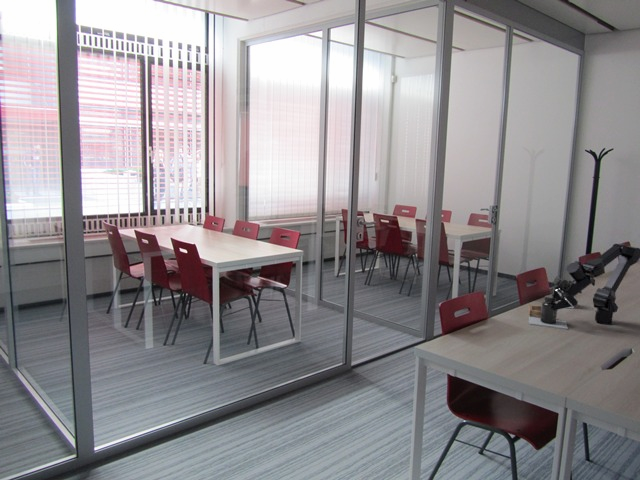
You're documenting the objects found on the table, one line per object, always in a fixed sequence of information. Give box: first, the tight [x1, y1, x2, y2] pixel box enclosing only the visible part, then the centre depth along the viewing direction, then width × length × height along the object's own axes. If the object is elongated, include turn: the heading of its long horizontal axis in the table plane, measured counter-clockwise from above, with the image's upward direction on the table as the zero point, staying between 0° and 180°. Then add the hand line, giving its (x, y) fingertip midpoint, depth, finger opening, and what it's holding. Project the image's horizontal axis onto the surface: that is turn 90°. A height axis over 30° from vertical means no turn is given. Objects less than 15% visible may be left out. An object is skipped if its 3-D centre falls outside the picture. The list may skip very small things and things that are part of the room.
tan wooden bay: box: [528, 304, 542, 318], centre depth 248 cm, size 10×11×3 cm
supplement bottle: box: [540, 295, 558, 324], centre depth 235 cm, size 7×7×12 cm
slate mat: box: [528, 316, 569, 330], centre depth 235 cm, size 16×11×1 cm
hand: (549, 306), depth 234 cm, fingers open, 9 cm apart
